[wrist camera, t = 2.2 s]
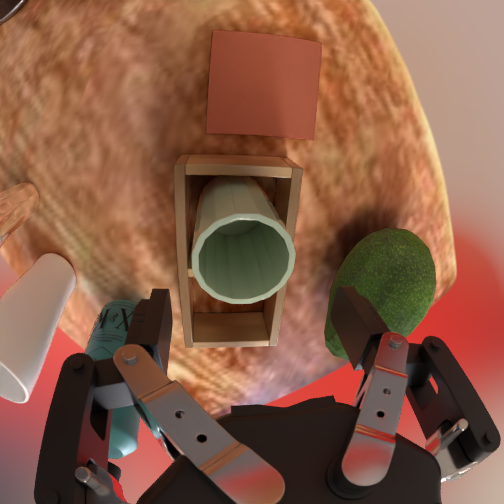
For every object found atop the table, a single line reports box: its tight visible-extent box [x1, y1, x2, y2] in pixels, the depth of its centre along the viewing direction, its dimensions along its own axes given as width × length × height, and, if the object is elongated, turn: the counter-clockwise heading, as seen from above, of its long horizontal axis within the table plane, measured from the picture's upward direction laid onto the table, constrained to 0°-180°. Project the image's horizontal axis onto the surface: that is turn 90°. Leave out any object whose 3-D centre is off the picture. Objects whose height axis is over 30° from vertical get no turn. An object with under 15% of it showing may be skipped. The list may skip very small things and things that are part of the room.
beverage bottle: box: [85, 299, 140, 482], centre depth 21 cm, size 6×7×20 cm
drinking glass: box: [0, 253, 76, 403], centre depth 20 cm, size 7×7×15 cm
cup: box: [192, 175, 296, 304], centre depth 21 cm, size 6×6×10 cm
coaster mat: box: [206, 30, 322, 140], centre depth 21 cm, size 9×9×1 cm
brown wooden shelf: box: [174, 154, 303, 348], centre depth 25 cm, size 9×17×4 cm, turn 176°
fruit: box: [324, 228, 436, 360], centre depth 27 cm, size 15×10×10 cm, turn 155°
